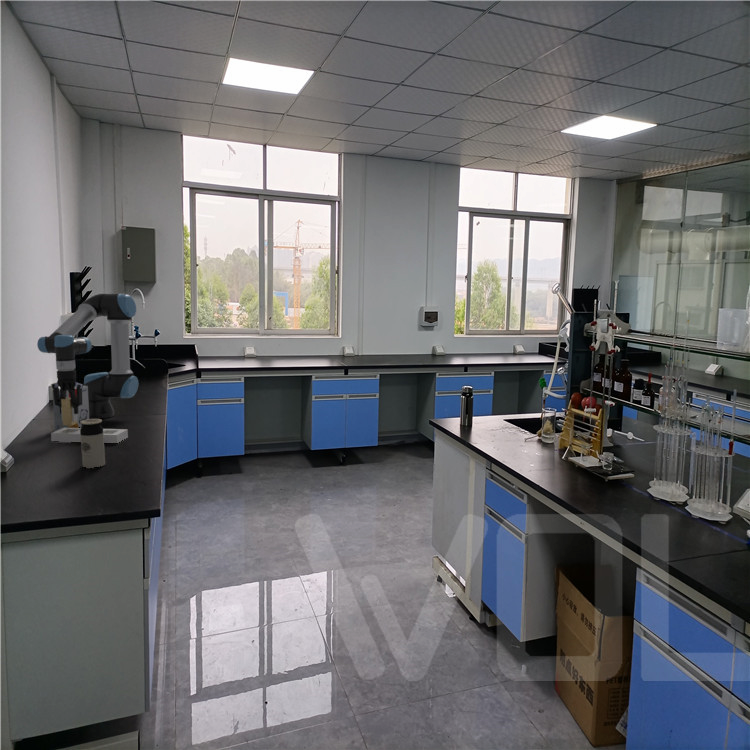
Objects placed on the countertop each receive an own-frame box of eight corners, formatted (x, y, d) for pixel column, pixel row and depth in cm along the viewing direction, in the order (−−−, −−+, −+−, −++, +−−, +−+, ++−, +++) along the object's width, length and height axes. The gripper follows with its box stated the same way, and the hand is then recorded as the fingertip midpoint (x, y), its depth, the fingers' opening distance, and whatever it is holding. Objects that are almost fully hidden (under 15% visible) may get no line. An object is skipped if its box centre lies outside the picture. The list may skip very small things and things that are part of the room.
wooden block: (68, 423, 260) (66, 397, 258) (76, 423, 259) (75, 397, 257) (63, 425, 256) (61, 399, 254) (71, 425, 255) (69, 399, 254)
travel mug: (97, 461, 228) (94, 417, 225) (109, 464, 224) (106, 420, 221) (78, 466, 221) (75, 421, 218) (90, 470, 217) (87, 424, 215)
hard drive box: (68, 432, 271) (65, 391, 267) (54, 431, 272) (51, 390, 269) (90, 424, 286) (88, 385, 283) (77, 423, 287) (74, 384, 284)
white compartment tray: (64, 436, 264) (64, 427, 263) (128, 437, 262) (127, 429, 262) (51, 441, 254) (50, 433, 253) (117, 443, 253) (116, 435, 252)
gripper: (42, 370, 250) (46, 422, 254) (80, 371, 249) (83, 423, 253) (52, 368, 258) (56, 418, 261) (89, 368, 257) (92, 419, 261)
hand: (69, 420), depth 257 cm, fingers closed on wooden block, 4 cm apart
